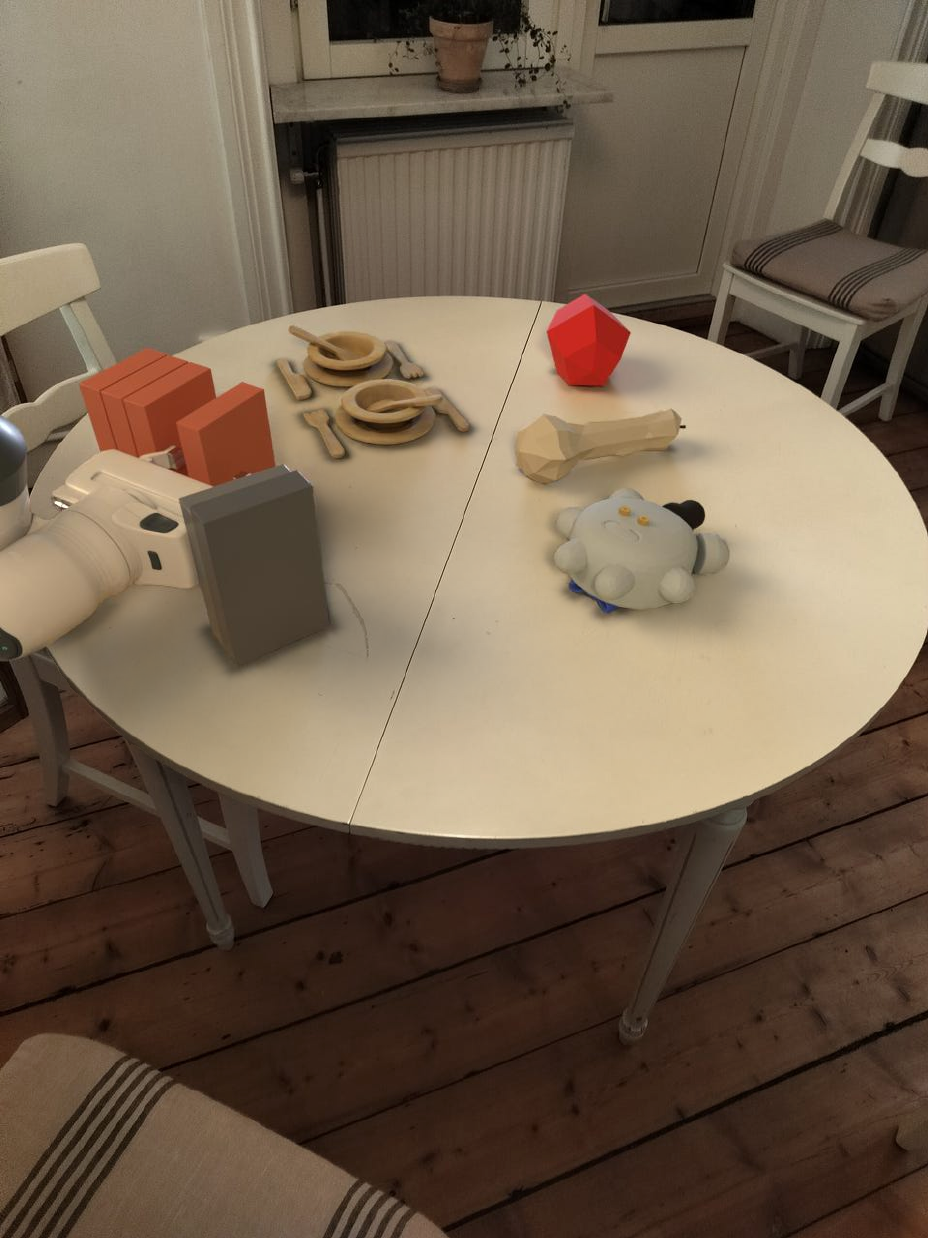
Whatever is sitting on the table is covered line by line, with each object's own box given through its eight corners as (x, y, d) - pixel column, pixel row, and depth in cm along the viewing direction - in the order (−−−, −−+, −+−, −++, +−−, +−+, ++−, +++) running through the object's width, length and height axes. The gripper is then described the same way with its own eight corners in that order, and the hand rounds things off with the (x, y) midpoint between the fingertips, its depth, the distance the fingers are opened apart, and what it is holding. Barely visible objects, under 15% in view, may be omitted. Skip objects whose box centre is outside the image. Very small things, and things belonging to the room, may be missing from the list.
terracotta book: (224, 549, 92) (198, 430, 82) (204, 541, 93) (175, 422, 83) (281, 504, 98) (264, 388, 88) (261, 496, 99) (242, 381, 89)
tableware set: (472, 432, 111) (473, 391, 107) (331, 462, 105) (327, 420, 101) (393, 340, 131) (391, 303, 127) (270, 361, 125) (265, 323, 121)
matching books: (175, 524, 95) (144, 406, 85) (115, 500, 98) (78, 383, 88) (233, 482, 101) (210, 367, 91) (175, 460, 105) (147, 347, 94)
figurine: (639, 655, 81) (746, 583, 93) (661, 585, 76) (771, 518, 87) (512, 570, 90) (624, 514, 102) (523, 502, 85) (640, 451, 96)
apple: (541, 400, 121) (533, 335, 129) (623, 405, 122) (610, 340, 130) (557, 331, 111) (547, 265, 119) (645, 337, 112) (630, 271, 121)
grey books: (236, 667, 79) (203, 523, 68) (211, 630, 83) (175, 488, 71) (329, 626, 84) (313, 485, 72) (302, 593, 87) (281, 453, 75)
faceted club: (495, 456, 106) (657, 425, 114) (524, 506, 102) (688, 470, 111) (511, 403, 98) (682, 375, 107) (542, 455, 94) (717, 422, 103)
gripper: (50, 527, 85) (149, 462, 93) (205, 594, 78) (295, 518, 87) (29, 474, 80) (135, 412, 89) (191, 541, 73) (288, 467, 82)
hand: (215, 465), depth 88 cm, fingers open, 8 cm apart
